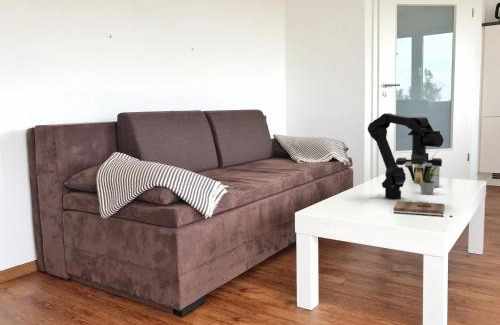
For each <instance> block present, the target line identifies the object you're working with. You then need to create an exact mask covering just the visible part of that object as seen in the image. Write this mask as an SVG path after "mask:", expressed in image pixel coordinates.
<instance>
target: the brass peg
mask: <svg viewBox="0 0 500 325" xmlns="http://www.w3.org/2000/svg"><path fill="white" fill-rule="evenodd" d="M413 171H414V181H413V184H416V185H420V184H422V183H423V171H424V167H414V166H413Z"/></svg>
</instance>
